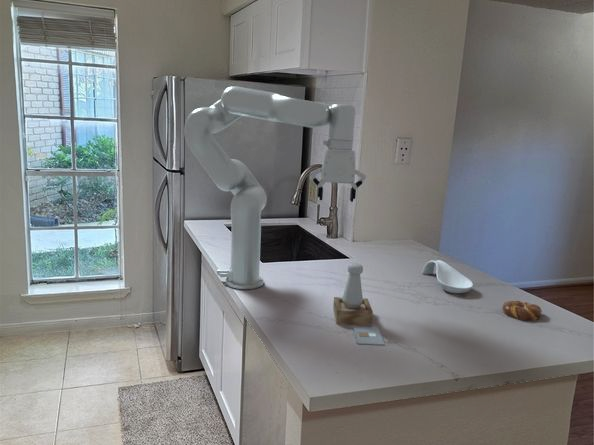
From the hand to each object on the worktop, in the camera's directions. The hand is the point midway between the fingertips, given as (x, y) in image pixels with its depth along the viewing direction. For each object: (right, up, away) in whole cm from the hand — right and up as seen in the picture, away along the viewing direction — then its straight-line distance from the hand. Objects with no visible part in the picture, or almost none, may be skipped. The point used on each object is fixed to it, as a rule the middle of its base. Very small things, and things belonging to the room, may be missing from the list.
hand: (336, 200), depth 162 cm
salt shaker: (+4, -32, -13) cm, 34 cm away
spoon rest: (+39, -29, +20) cm, 53 cm away
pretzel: (+57, -36, -2) cm, 67 cm away
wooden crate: (+4, -34, -12) cm, 37 cm away
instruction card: (+7, -37, -24) cm, 45 cm away
